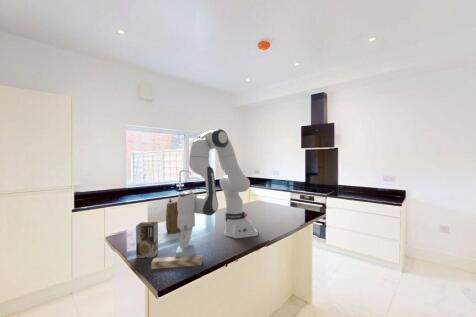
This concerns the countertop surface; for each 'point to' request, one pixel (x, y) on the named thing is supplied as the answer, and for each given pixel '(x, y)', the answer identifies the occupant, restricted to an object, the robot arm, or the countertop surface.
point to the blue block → (185, 251)
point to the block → (172, 218)
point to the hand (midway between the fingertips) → (186, 249)
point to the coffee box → (146, 239)
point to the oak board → (177, 261)
